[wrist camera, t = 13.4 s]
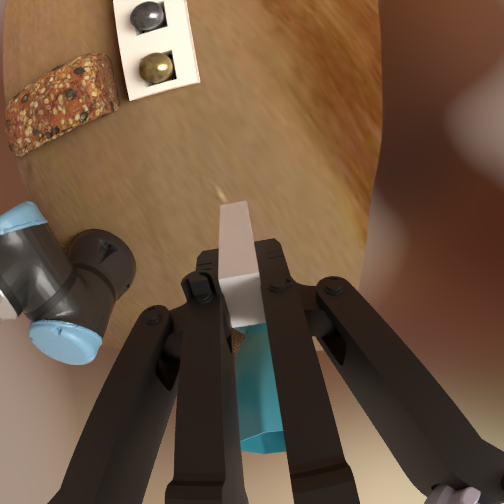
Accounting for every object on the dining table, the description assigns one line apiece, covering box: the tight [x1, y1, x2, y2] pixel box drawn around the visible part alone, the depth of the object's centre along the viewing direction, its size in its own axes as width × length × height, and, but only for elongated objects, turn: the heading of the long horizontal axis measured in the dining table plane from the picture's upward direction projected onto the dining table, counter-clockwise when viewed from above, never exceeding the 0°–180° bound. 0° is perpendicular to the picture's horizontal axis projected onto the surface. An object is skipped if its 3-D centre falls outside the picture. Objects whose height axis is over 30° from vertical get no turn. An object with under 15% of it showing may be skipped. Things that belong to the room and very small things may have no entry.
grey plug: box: [130, 1, 167, 32], centre depth 26 cm, size 4×4×6 cm
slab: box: [113, 0, 200, 101], centre depth 27 cm, size 10×24×4 cm, turn 8°
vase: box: [233, 323, 286, 454], centre depth 50 cm, size 17×17×30 cm
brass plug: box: [139, 52, 176, 83], centre depth 31 cm, size 4×4×6 cm
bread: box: [5, 52, 120, 157], centre depth 29 cm, size 19×11×10 cm, turn 98°
